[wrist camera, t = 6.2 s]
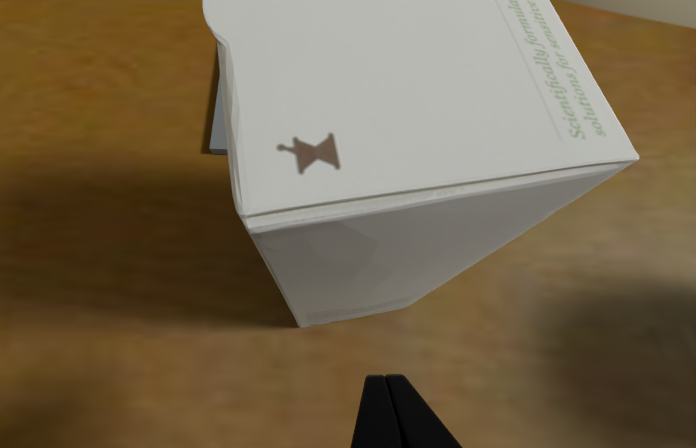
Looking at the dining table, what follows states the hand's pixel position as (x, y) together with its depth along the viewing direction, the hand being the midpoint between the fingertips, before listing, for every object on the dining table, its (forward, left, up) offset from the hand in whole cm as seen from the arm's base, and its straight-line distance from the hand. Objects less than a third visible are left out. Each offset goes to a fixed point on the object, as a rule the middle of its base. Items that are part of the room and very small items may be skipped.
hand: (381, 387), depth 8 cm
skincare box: (+3, +6, -11) cm, 13 cm away
